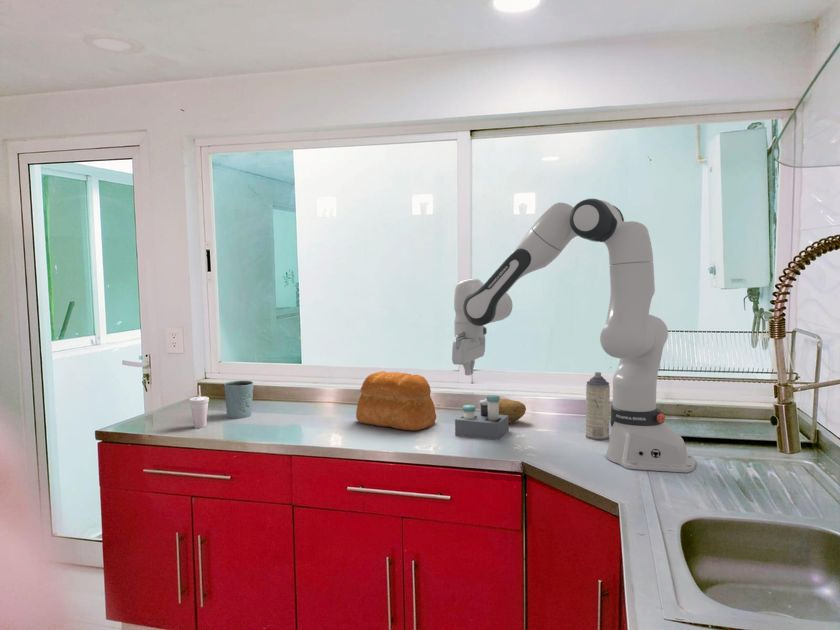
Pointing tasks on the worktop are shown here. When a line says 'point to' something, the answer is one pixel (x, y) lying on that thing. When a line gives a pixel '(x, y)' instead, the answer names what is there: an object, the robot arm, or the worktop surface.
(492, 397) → the white bottle teal cap
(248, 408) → the grey cup
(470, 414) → the white cylinder
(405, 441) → the worktop surface
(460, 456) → the worktop surface
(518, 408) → the potato
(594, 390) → the aerosol can
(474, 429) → the mount
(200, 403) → the smoothie
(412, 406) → the bread
